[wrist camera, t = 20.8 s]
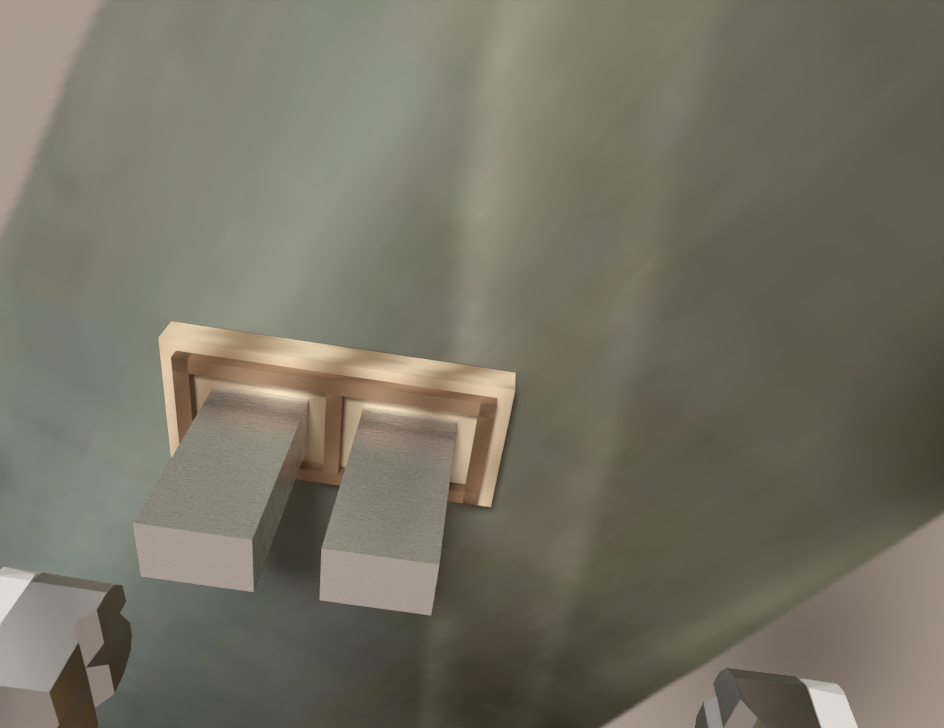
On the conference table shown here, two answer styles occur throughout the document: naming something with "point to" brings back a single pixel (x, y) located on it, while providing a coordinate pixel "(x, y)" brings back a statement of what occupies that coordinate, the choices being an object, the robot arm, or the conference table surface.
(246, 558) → the billet
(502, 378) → the wooden compartment tray
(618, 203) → the conference table surface
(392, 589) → the aluminium billet
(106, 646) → the robot arm
